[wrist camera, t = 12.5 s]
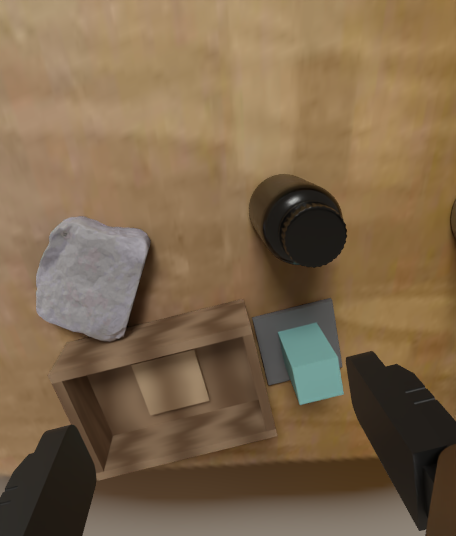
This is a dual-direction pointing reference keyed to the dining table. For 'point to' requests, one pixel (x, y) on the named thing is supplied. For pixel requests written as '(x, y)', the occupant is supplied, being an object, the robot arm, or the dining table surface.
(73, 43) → the dining table surface
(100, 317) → the stone block
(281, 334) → the block
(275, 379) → the mat
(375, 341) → the dining table surface
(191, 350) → the crate
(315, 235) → the supplement bottle
